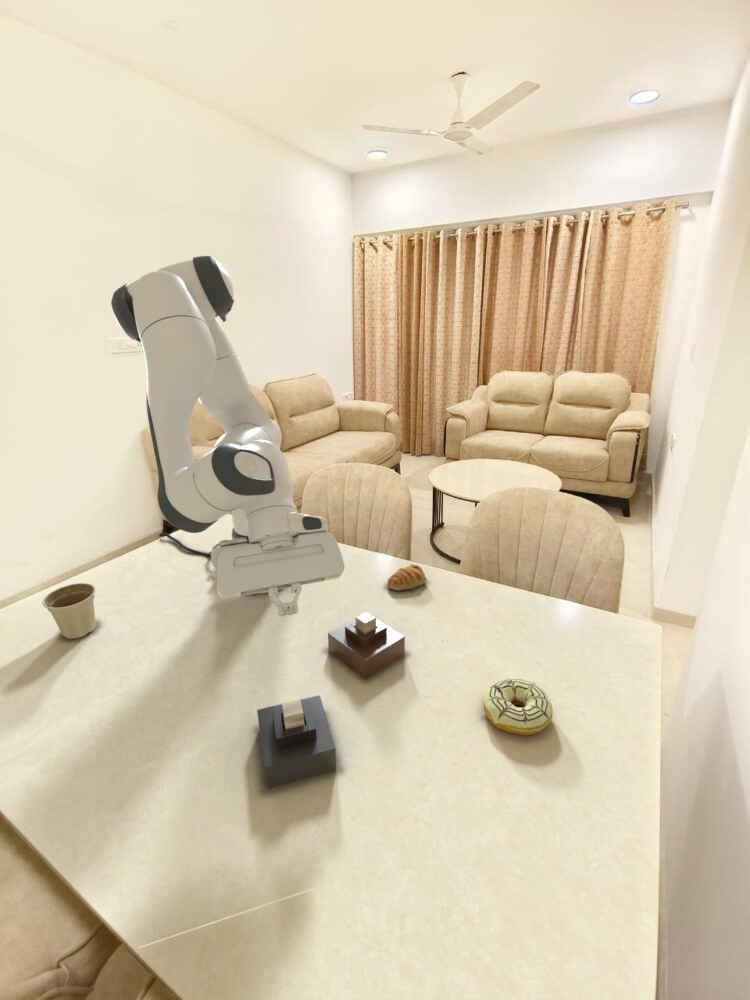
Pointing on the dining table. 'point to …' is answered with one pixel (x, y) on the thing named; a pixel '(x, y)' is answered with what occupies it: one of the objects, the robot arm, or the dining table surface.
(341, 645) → the walnut key block
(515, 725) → the decorated donut
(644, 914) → the dining table surface
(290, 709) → the front key
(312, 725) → the black key block
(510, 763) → the dining table surface
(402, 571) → the pastry
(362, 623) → the back key
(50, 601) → the flower pot
